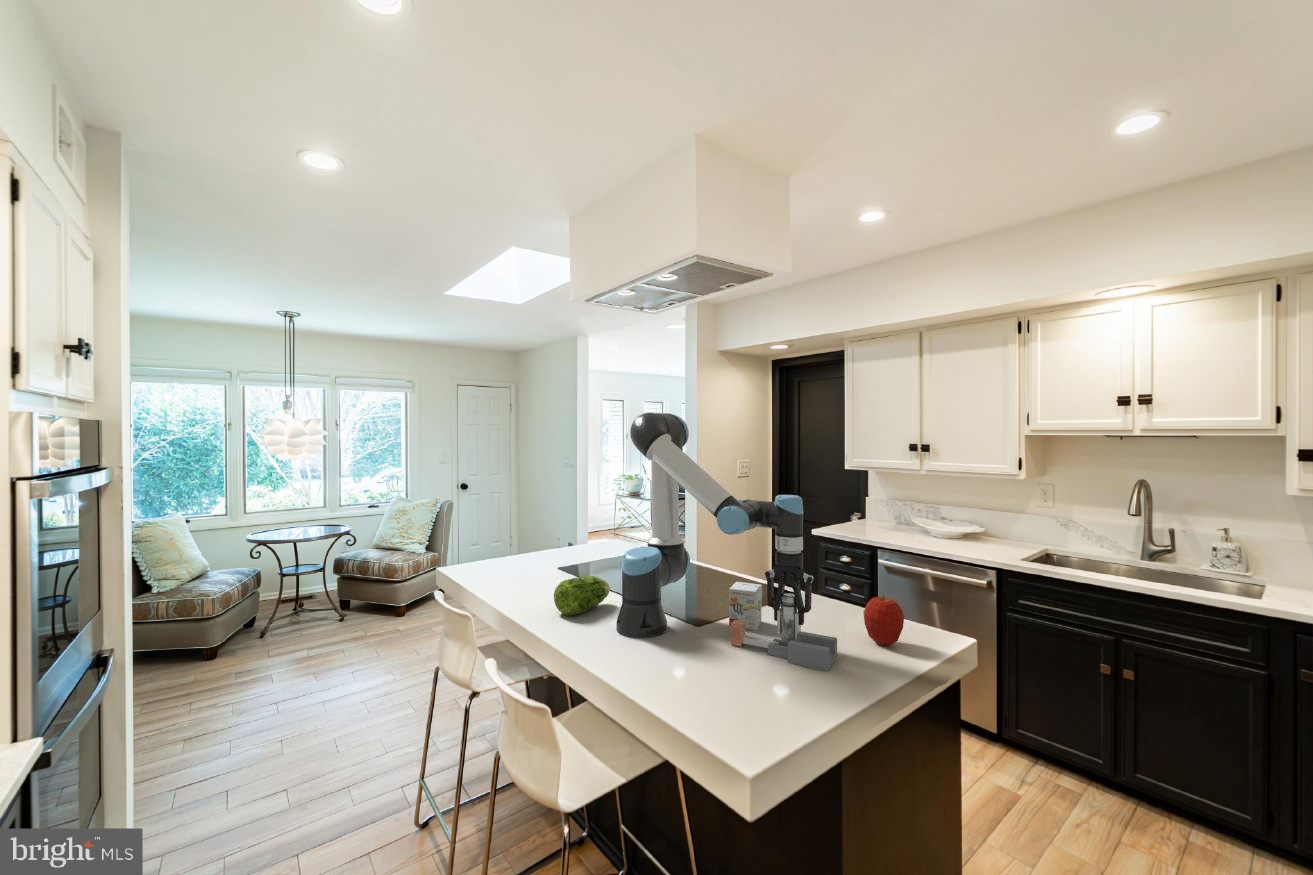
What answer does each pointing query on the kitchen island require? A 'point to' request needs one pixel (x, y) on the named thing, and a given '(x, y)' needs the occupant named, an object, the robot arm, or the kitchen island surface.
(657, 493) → the robot arm
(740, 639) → the pin
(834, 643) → the mount
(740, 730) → the kitchen island surface
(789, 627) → the grey cylinder
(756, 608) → the ink box
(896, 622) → the apple
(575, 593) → the green rounded piece
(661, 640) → the kitchen island surface
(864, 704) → the kitchen island surface
